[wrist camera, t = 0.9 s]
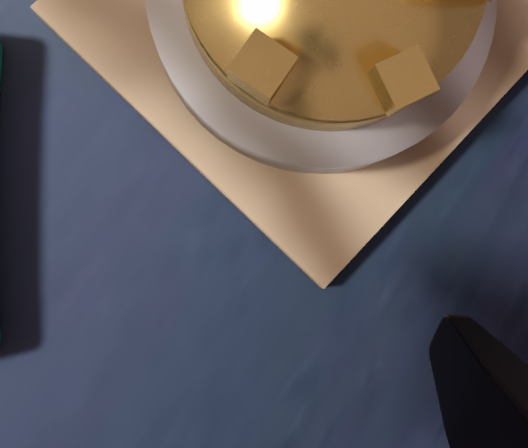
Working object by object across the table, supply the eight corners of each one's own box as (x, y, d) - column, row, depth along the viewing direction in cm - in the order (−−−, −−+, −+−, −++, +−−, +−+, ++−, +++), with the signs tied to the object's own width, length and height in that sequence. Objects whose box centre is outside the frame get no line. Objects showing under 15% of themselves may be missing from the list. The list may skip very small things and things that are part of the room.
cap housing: (319, 287, 23) (334, 294, 20) (38, 17, 22) (9, -18, 19) (562, 25, 24) (610, -5, 21) (306, -236, 24) (318, -305, 21)
